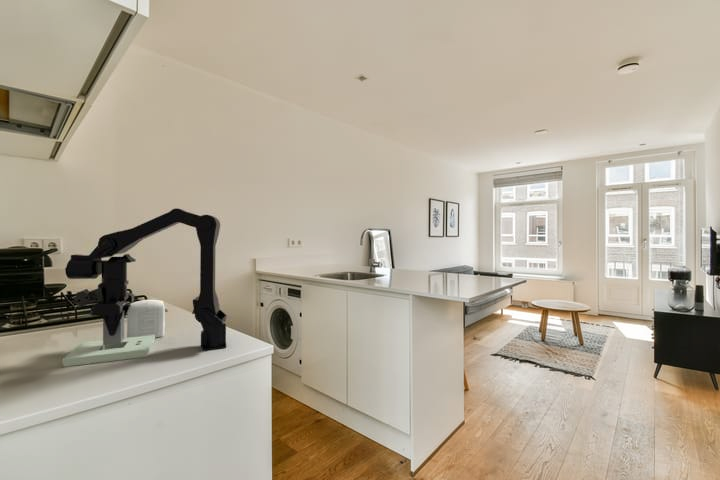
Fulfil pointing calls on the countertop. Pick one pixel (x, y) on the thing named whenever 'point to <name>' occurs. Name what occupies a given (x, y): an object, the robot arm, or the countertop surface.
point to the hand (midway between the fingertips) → (114, 333)
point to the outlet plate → (109, 351)
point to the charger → (115, 338)
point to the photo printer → (146, 318)
